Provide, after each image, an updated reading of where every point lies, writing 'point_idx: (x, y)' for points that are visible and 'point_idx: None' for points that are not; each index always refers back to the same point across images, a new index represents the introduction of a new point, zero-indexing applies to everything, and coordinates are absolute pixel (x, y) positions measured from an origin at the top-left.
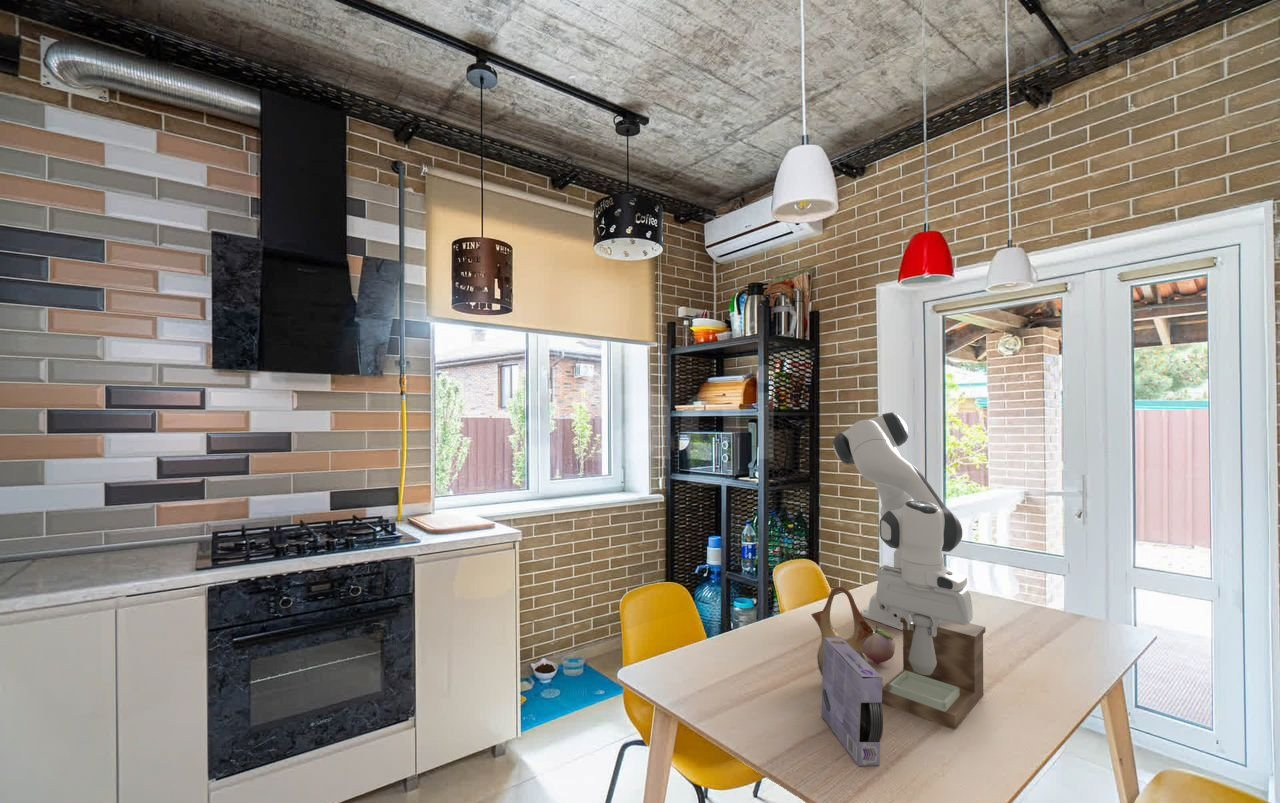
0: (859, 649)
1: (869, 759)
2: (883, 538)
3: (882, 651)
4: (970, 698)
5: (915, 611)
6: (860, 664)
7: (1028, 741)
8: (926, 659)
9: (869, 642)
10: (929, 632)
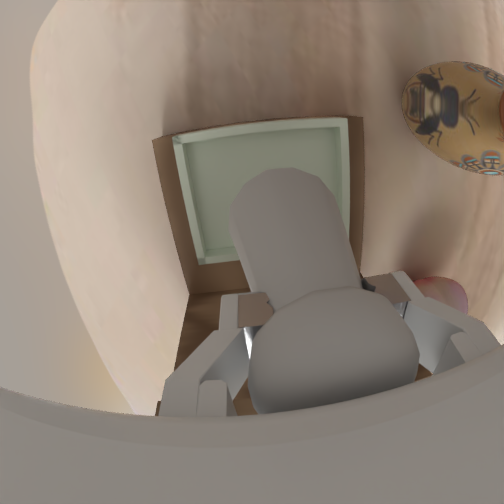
0: (476, 100)
1: None
2: None
3: None
4: (181, 263)
5: (423, 393)
6: None
7: (71, 224)
8: (250, 195)
9: (449, 294)
10: (255, 303)
